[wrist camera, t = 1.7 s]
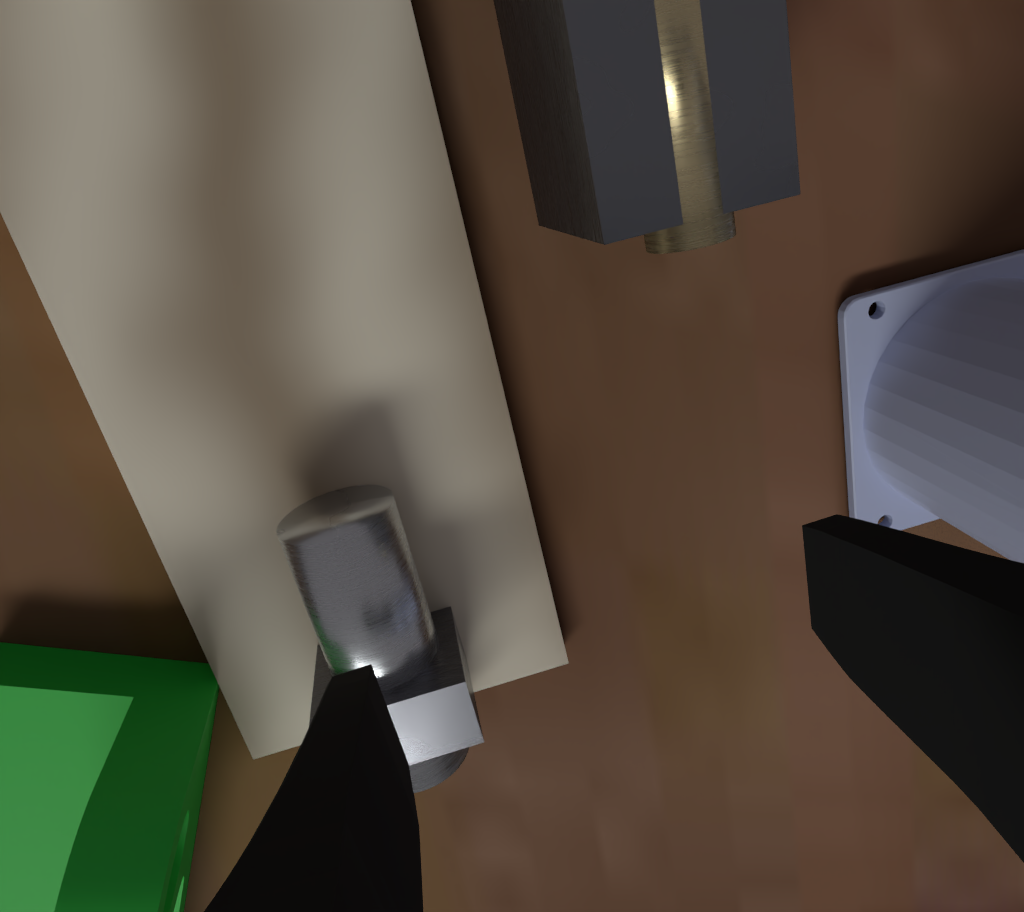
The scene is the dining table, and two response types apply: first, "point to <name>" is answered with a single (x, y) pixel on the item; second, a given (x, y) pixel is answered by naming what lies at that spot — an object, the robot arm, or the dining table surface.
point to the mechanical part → (100, 778)
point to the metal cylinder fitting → (382, 624)
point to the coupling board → (270, 312)
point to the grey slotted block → (652, 114)
